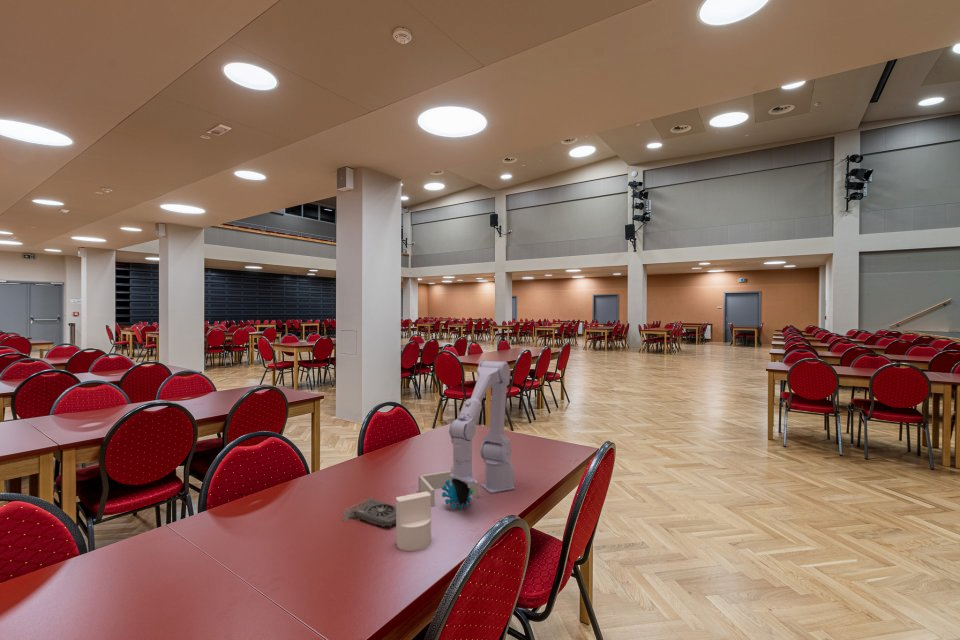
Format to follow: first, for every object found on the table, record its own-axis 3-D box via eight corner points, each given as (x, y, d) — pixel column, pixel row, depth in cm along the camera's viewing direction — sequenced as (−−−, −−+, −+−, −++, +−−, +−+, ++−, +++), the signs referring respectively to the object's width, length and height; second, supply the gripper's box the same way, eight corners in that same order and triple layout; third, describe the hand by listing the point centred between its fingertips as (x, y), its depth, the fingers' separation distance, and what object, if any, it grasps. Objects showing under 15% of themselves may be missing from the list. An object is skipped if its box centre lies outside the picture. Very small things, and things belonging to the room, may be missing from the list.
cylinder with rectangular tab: (402, 554, 108) (402, 506, 108) (392, 538, 116) (391, 493, 116) (436, 545, 112) (435, 499, 112) (423, 530, 120) (423, 487, 120)
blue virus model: (447, 509, 130) (440, 477, 137) (439, 517, 134) (433, 486, 140) (479, 506, 136) (470, 476, 142) (471, 514, 139) (463, 485, 146)
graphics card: (340, 510, 127) (370, 494, 137) (340, 522, 127) (370, 506, 137) (383, 524, 118) (411, 507, 128) (383, 538, 118) (411, 519, 128)
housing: (462, 483, 155) (462, 469, 156) (478, 497, 143) (478, 482, 143) (418, 490, 149) (418, 475, 149) (431, 506, 136) (431, 490, 136)
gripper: (442, 454, 139) (442, 496, 139) (459, 468, 126) (459, 515, 125) (462, 451, 142) (462, 493, 142) (481, 464, 128) (481, 510, 128)
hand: (462, 503), depth 134 cm, fingers closed
